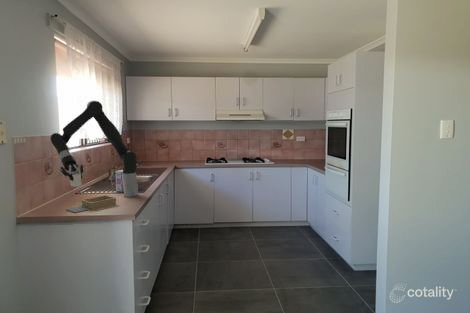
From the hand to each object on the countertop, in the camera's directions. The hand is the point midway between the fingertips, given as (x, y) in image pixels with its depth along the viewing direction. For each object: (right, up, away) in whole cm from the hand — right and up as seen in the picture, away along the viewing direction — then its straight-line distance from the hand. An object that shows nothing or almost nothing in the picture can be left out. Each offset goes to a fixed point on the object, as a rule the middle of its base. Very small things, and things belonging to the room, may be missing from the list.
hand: (77, 179), depth 205 cm
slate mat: (-1, -19, +3) cm, 20 cm away
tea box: (-1, -4, +2) cm, 5 cm away
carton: (+8, -18, +14) cm, 24 cm away
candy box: (+8, -13, +62) cm, 64 cm away
